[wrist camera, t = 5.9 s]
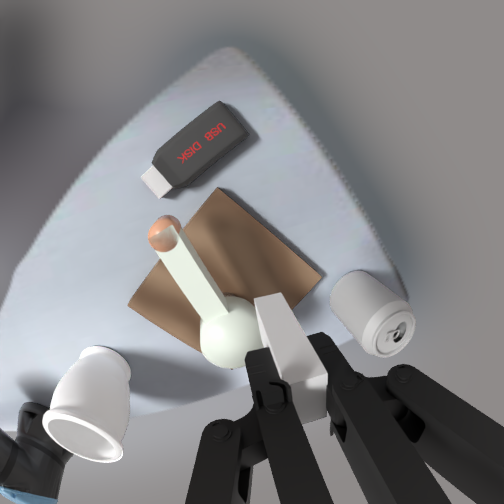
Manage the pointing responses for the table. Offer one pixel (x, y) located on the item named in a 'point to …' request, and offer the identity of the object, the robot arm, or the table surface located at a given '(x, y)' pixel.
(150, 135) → the table surface
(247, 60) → the table surface
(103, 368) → the jar
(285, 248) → the base plate
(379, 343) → the can
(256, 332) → the tan-tipped lever stick
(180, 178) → the usb drive
